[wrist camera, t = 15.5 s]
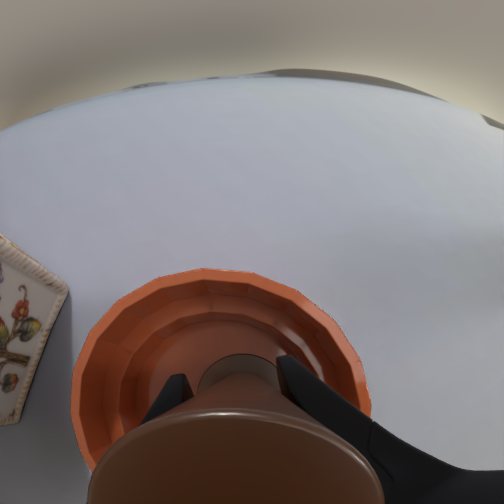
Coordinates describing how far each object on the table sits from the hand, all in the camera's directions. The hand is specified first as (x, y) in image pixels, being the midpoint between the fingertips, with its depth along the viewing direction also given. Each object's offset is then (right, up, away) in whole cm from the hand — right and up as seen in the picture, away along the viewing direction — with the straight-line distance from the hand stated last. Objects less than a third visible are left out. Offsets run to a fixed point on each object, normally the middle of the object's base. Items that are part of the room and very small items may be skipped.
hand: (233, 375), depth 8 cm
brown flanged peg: (0, -4, +6) cm, 7 cm away
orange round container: (-1, -5, +7) cm, 8 cm away
